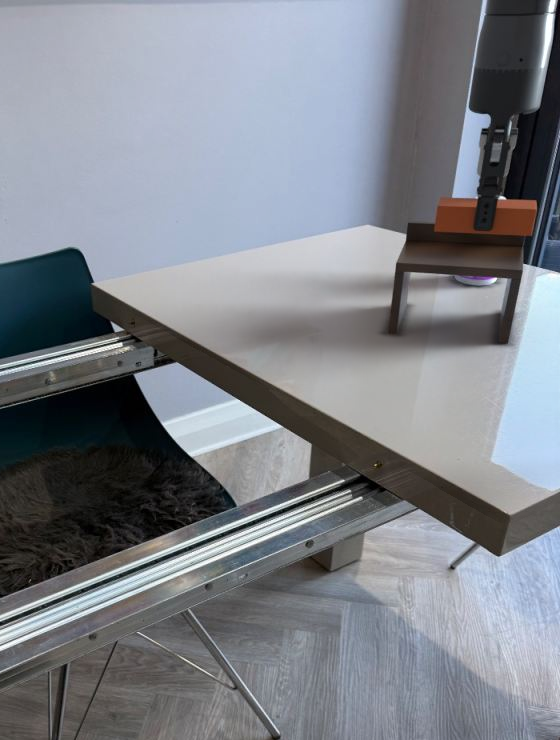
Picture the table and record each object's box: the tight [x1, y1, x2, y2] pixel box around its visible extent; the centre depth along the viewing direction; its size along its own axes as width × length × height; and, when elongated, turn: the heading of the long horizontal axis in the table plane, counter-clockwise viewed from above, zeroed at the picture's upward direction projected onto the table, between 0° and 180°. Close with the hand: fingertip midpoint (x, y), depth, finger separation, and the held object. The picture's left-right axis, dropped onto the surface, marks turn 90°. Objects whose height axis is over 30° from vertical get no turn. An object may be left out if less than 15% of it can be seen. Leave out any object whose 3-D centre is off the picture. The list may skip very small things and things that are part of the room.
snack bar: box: [434, 196, 538, 237], centre depth 94 cm, size 11×4×3 cm, turn 70°
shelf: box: [387, 220, 526, 344], centre depth 110 cm, size 16×12×12 cm
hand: (483, 224), depth 95 cm, fingers closed on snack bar, 4 cm apart
